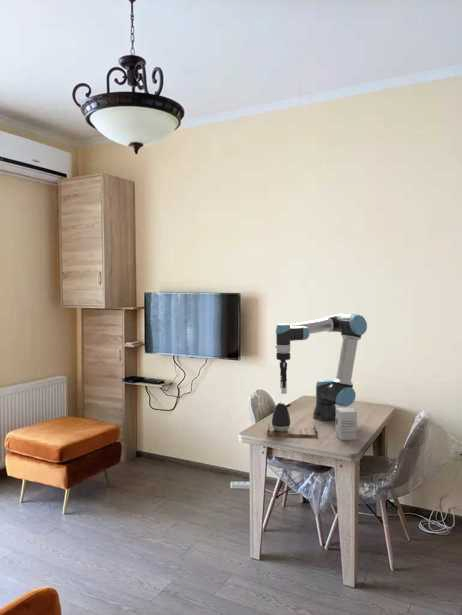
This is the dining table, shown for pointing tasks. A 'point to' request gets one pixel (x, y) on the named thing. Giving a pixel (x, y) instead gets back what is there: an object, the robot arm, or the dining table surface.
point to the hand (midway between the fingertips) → (283, 390)
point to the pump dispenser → (281, 417)
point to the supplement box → (346, 423)
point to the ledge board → (294, 432)
